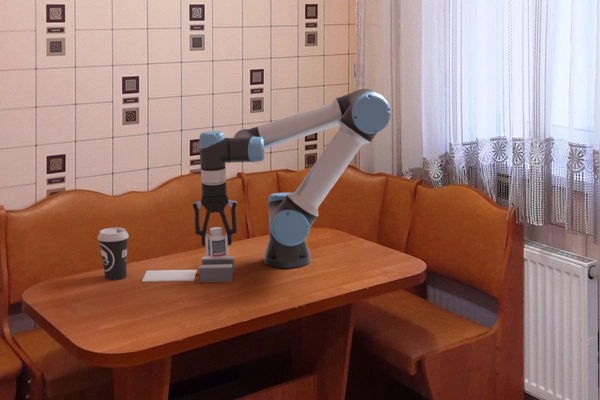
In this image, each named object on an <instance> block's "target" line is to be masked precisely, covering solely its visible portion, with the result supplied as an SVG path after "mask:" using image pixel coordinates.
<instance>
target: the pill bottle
mask: <svg viewBox="0 0 600 400" xmlns="http://www.w3.org/2000/svg"><path fill="white" fill-rule="evenodd" d="M223 232H224V230H223V228H222V227H219V226H215V227H211V228H209V235H208V247H209V257H210V258H223V257H227V256H226V252H225V234H223Z"/></svg>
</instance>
